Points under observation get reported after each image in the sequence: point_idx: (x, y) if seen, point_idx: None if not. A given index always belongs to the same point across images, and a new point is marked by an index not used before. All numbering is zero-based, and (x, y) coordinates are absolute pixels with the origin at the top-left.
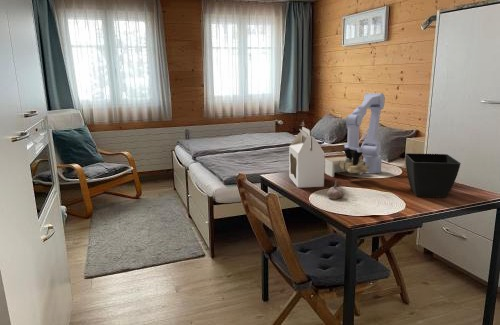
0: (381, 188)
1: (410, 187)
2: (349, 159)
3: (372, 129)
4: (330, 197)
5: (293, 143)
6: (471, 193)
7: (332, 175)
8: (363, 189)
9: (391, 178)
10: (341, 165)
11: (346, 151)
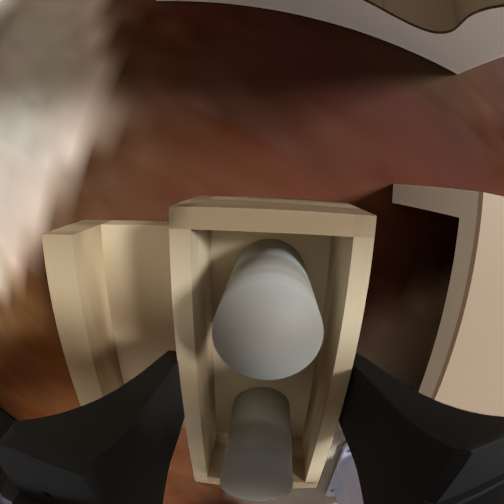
0: (25, 337)
1: (12, 423)
2: (351, 398)
3: None
4: None
5: None
6: None
7: (399, 186)
8: (15, 231)
9: (204, 484)
10: (274, 201)
11: (427, 454)
